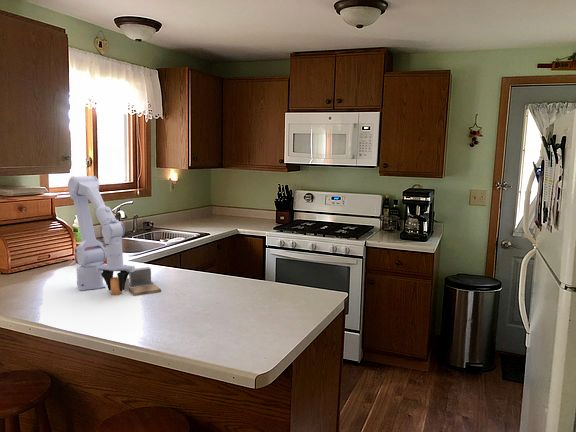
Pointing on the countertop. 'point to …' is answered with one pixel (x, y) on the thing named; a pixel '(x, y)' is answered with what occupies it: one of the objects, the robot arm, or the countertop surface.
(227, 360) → the countertop surface
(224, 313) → the countertop surface
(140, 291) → the mat
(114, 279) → the cylinder
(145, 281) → the housing
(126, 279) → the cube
